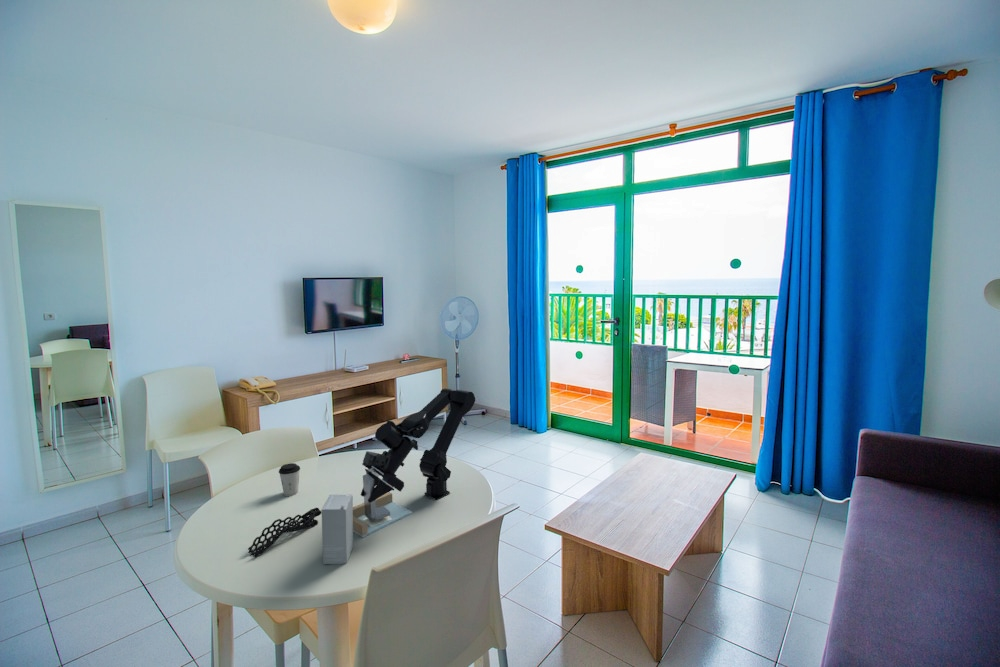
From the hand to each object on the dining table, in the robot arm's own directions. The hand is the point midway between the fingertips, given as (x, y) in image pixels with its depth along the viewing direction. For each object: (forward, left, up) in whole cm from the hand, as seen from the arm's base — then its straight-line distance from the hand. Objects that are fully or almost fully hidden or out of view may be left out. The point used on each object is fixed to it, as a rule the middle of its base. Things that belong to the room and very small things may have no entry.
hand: (365, 498), depth 140 cm
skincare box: (+14, +8, -9) cm, 18 cm away
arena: (-4, -1, -8) cm, 9 cm away
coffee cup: (+5, -40, -9) cm, 41 cm away
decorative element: (+18, -12, -9) cm, 24 cm away
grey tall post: (-4, +1, -7) cm, 7 cm away
